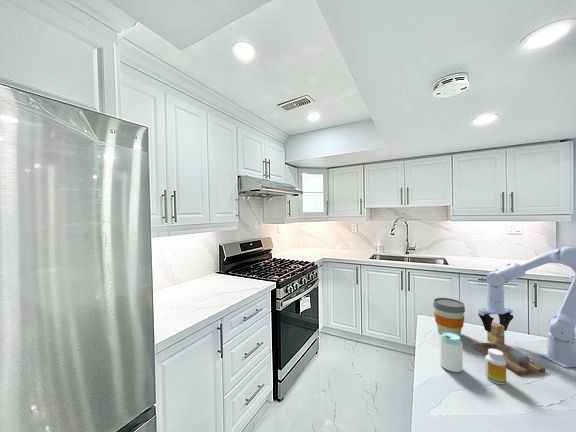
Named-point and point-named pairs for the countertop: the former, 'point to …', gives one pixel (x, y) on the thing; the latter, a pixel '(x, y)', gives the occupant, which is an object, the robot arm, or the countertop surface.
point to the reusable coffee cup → (449, 315)
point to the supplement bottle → (495, 366)
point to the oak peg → (496, 333)
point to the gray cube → (518, 358)
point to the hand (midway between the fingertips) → (495, 330)
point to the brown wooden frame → (510, 365)
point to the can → (451, 352)
